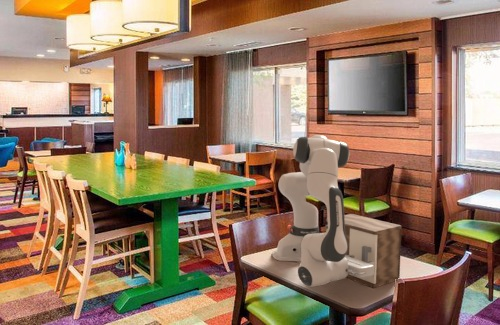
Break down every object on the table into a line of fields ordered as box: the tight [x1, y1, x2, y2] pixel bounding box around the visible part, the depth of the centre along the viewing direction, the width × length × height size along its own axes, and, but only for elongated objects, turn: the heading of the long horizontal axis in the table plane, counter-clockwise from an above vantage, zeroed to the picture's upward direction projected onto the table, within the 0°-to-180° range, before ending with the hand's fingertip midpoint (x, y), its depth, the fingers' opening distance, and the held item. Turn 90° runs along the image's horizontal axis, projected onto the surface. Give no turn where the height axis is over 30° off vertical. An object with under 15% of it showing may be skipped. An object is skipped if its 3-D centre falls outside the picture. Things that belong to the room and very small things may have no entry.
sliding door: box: [349, 228, 378, 284], centre depth 185 cm, size 5×13×19 cm, turn 36°
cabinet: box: [325, 213, 402, 289], centre depth 196 cm, size 16×26×22 cm, turn 36°
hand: (362, 260), depth 181 cm, fingers open, 8 cm apart
